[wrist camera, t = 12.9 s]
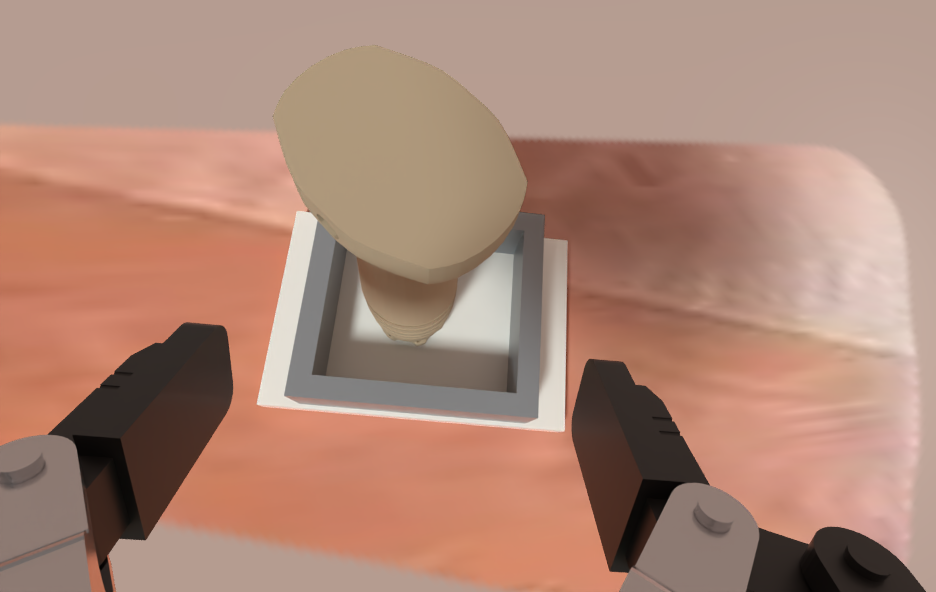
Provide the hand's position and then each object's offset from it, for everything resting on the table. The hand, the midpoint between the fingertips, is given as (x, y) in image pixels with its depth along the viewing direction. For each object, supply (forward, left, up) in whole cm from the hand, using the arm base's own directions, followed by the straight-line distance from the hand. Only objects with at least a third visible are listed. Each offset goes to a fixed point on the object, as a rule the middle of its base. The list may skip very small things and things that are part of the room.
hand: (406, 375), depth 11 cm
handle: (-1, +5, -14) cm, 15 cm away
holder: (0, +5, -15) cm, 16 cm away
